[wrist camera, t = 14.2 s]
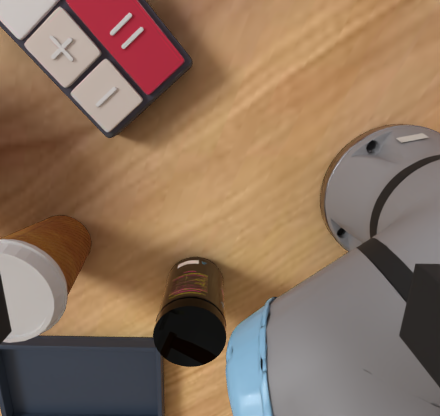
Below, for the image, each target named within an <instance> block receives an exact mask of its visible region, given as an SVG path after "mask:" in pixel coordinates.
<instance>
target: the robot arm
mask: <svg viewBox="0 0 440 416" xmlns="http://www.w3.org/2000/svg"><path fill="white" fill-rule="evenodd" d="M320 207H321V213H322V217H323V220H324V223H325V225H326V227H327V229H328V230H329V232H330V233H331V235H332V236H333V237H334V238H335V239H336V240H337V242H338V243H339V244H340V245H341V246H342V247H343V248H344V249H346V250H347V251H348V253H346V254H345V255H343V256H342V257H340V258H338V259H337V260H335V261H334V262H332V263H331V264H329V265H328V266H326V267H324V268H323V269H321V270H320V271H318V272H317V273H315V274H313V275H312V276H310V277H309V278H307V279H306V280H304V281H303V282H301V283H299V284H298V285H296V286H295V287H293V288H292V289H290V290H289V291H287V292H285V293H284V294H282V295H281V296H279V297H272V298H270V299H269V300H268V301H267V302H266V303H265V305H264V306H263V307H262V308H260V309H259V310H257V311H256V312H255V313H253V314H252V315H250V316H249V317H248V318H246V319H245V320H243V321H242V322H241V323H240V324H239V325H238V326H237V327H236V328H235V329H234V331H233V332H232V334H231V337H230V339H229V342H228V346H227V352H226V363H227V365H226V380H227V388H228V395H229V400H230V405H231V409H232V413H233V416H440V133H438V132H436V131H434V130H431V129H429V128H425V127H421V126H414V125H405V124H393V125H386V126H382V127H378V128H375V129H372V130H370V131H367V132H365V133H363V134H362V135H360V136H358V137H357V138H355V139H354V140H352V141H351V142H350V143H349V144H347V145H346V146H345V147H344V148H343V149H342V150H341V151H340V152H339V153H338V155H337V156H336V157H335V159H334V160H333V161H332V163H331V165H330V166H329V168H328V170H327V172H326V174H325V177H324V180H323V183H322V187H321V194H320ZM11 332H12V330H11V325H10V320H9V314H8V309H7V304H6V299H5V294H4V289H3V284H2V279H1V274H0V344H1V343H2V342H3V341H4V340H5V339H6V337H7V336H8V335H9V334H10V333H11Z"/></svg>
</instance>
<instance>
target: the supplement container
mask: <svg viewBox="0 0 440 416" xmlns="http://www.w3.org/2000/svg"><path fill="white" fill-rule="evenodd" d="M153 339H154V344H155V346H156V348H157V350H158V351H159V353H160V354H161V355H162V356H163V357H164V358H165V359H167V360H168V361H170V362H172V363H174V364H177V365H181V366H187V367H193V366H200V365H204V364H206V363H209V362H210V361H212V360H214V359H215V358H216V357H217V356H218V355H219V354H220V353H221V351H222V350H223V348H224V346H225V342H226V321H225V308H224V286H223V276H222V274H221V271H220V270H219V268H218V267H217V266H216V265H215V264H214V263H212V262H211V261H209V260H207V259H204V258H200V257H191V258H186V259H184V260H182V261H180V262H178V263H177V264H176V265H175V266H174V267H173V268H172V269H171V271H170V273H169V276H168V280H167V284H166V287H165V291H164V295H163V299H162V303H161V306H160V310H159V314H158V316H157V319H156V324H155V328H154V333H153Z"/></svg>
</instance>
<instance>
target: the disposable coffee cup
mask: <svg viewBox="0 0 440 416" xmlns="http://www.w3.org/2000/svg"><path fill="white" fill-rule="evenodd" d="M90 249H91V238H90V235H89V233H88V231H87V229H86V228H85V227H84V226H83V225H82V224H81V223H80V222H78V221H77V220H75V219H73V218H71V217H68V216H52V217H49V218H47V219H45V220H43V221H40V222H38V223H36V224H33V225H31V226H29V227H26V228H24V229H22V230H19V231H17V232H15V233H12V234H10V235H8V236H5V237H3V238H1V239H0V274H1V279H2V284H3V289H4V294H5V299H6V304H7V309H8V314H9V320H10V325H11V330H12V332H11V333H10V334H9V335H8V336H7V337H6V339H5V340H4V341H3V342H9V343H11V342H20V341H26V340H28V339H31V338H33V337H36V336H38V335H39V334H41V333H43V332H45V331H47V330H49V329H51V328H52V327H53V326H54V325H55V324H56V323H57V322H58V321H59V319H60V318H61V316H62V315H63V313H64V311H65V309H66V303H67V296H68V294H69V292H70V290H71V288H72V286H73V284H74V282H75V280H76V278H77V276H78V274H79V272H80V270H81V268H82V266H83V264H84V262H85V260H86V258H87V256H88V254H89V252H90Z"/></svg>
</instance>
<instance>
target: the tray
mask: <svg viewBox="0 0 440 416" xmlns="http://www.w3.org/2000/svg"><path fill="white" fill-rule="evenodd" d="M0 409H1V413H2V416H165V415H164V372H163V356H162V355H161V354H160V353H159V351H158V350H157V348H156V346H155V344H154V339H153V338H143V337H85V336H36V337H33V338H31V339H28V340H26V341H20V342H11V343H9V342H2V343H1V344H0Z"/></svg>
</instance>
